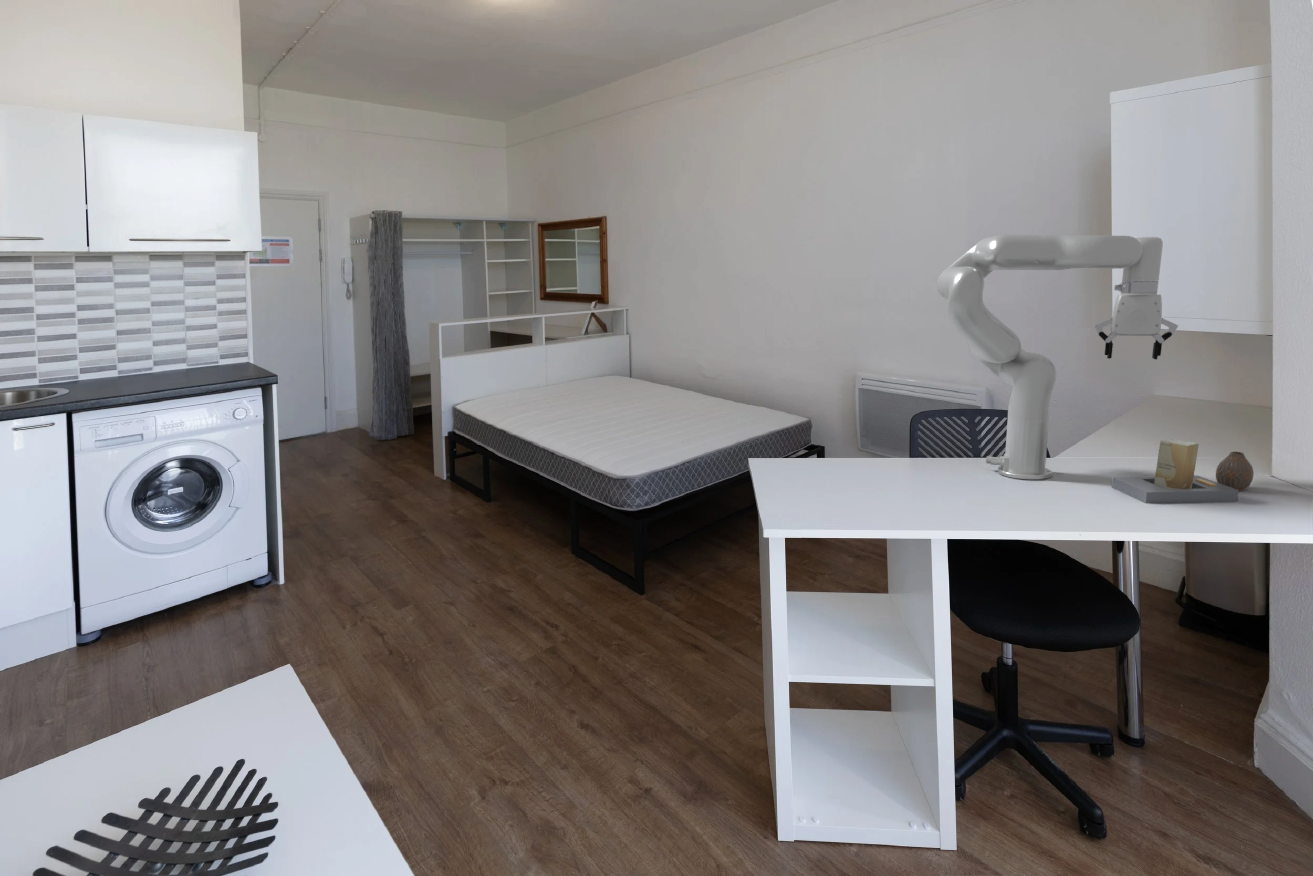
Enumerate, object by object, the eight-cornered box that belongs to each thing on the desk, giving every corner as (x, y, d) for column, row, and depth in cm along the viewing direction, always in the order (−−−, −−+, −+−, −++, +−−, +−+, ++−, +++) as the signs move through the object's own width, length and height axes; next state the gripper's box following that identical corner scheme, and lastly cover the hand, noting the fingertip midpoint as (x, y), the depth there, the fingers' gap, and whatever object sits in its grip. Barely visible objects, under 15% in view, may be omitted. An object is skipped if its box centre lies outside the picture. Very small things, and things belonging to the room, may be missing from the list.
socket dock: (1145, 503, 160) (1147, 491, 159) (1111, 487, 173) (1112, 476, 172) (1237, 501, 159) (1239, 489, 159) (1196, 485, 172) (1197, 474, 171)
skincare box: (1152, 490, 168) (1158, 440, 165) (1163, 488, 170) (1168, 438, 167) (1182, 497, 162) (1188, 445, 160) (1193, 494, 164) (1199, 442, 161)
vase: (1221, 491, 166) (1225, 455, 165) (1209, 484, 173) (1213, 448, 171) (1256, 493, 164) (1262, 456, 162) (1243, 485, 170) (1248, 449, 169)
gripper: (1099, 290, 176) (1092, 359, 180) (1184, 288, 168) (1176, 360, 172) (1097, 289, 183) (1090, 356, 186) (1179, 288, 175) (1170, 357, 178)
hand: (1131, 358), depth 179 cm, fingers open, 9 cm apart
